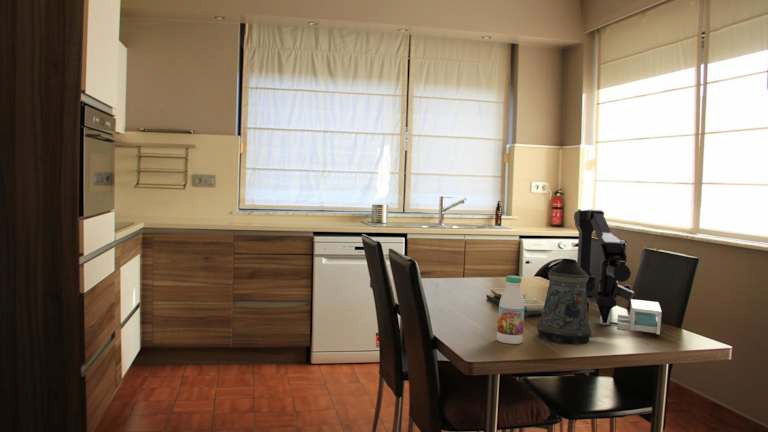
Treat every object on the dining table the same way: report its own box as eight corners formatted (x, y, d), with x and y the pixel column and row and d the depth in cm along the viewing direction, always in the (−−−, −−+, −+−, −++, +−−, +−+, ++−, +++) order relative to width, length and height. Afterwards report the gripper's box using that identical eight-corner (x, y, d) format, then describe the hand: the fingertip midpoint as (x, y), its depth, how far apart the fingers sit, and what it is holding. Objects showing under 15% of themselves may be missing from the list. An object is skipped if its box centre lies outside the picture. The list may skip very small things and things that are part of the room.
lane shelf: (592, 329, 214) (594, 303, 213) (594, 319, 231) (595, 295, 230) (659, 338, 207) (661, 311, 206) (656, 327, 223) (658, 302, 223)
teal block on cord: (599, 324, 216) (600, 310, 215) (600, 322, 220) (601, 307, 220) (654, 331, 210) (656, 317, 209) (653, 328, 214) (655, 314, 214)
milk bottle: (493, 337, 196) (498, 273, 194) (518, 338, 196) (522, 274, 195) (500, 344, 188) (504, 278, 187) (525, 345, 189) (530, 279, 187)
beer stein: (553, 345, 190) (559, 263, 188) (523, 329, 209) (528, 254, 207) (601, 344, 194) (607, 264, 193) (567, 329, 213) (572, 255, 211)
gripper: (634, 283, 205) (630, 330, 206) (632, 276, 223) (629, 319, 223) (598, 279, 209) (594, 326, 210) (599, 272, 226) (596, 315, 227)
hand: (605, 321), depth 217 cm, fingers closed on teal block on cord, 3 cm apart
